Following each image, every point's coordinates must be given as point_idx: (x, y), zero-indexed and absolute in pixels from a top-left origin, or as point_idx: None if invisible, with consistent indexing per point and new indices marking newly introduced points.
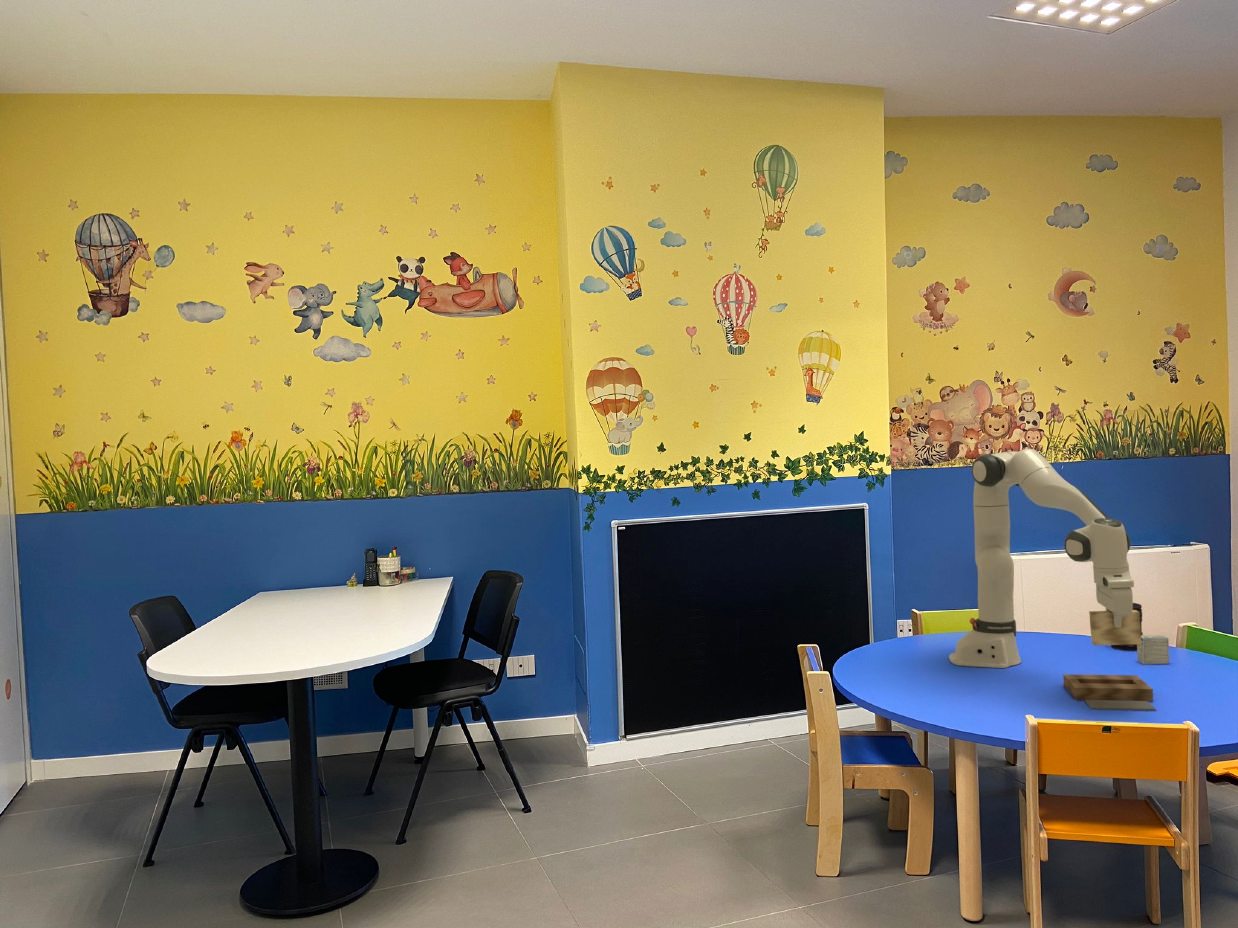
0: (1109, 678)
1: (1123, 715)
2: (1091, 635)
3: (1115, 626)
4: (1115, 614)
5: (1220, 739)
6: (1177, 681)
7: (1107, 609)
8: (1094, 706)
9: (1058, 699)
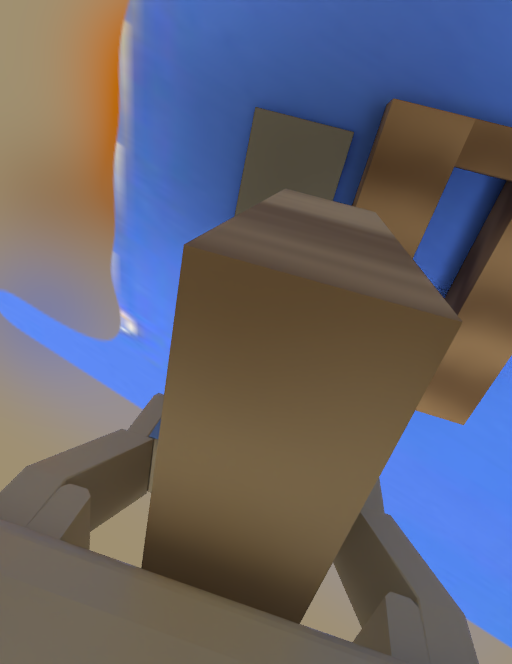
0: (468, 323)
1: (181, 188)
2: (364, 217)
3: (153, 397)
4: (6, 495)
5: (10, 310)
6: (454, 510)
7: (382, 622)
8: (265, 126)
9: (416, 18)
